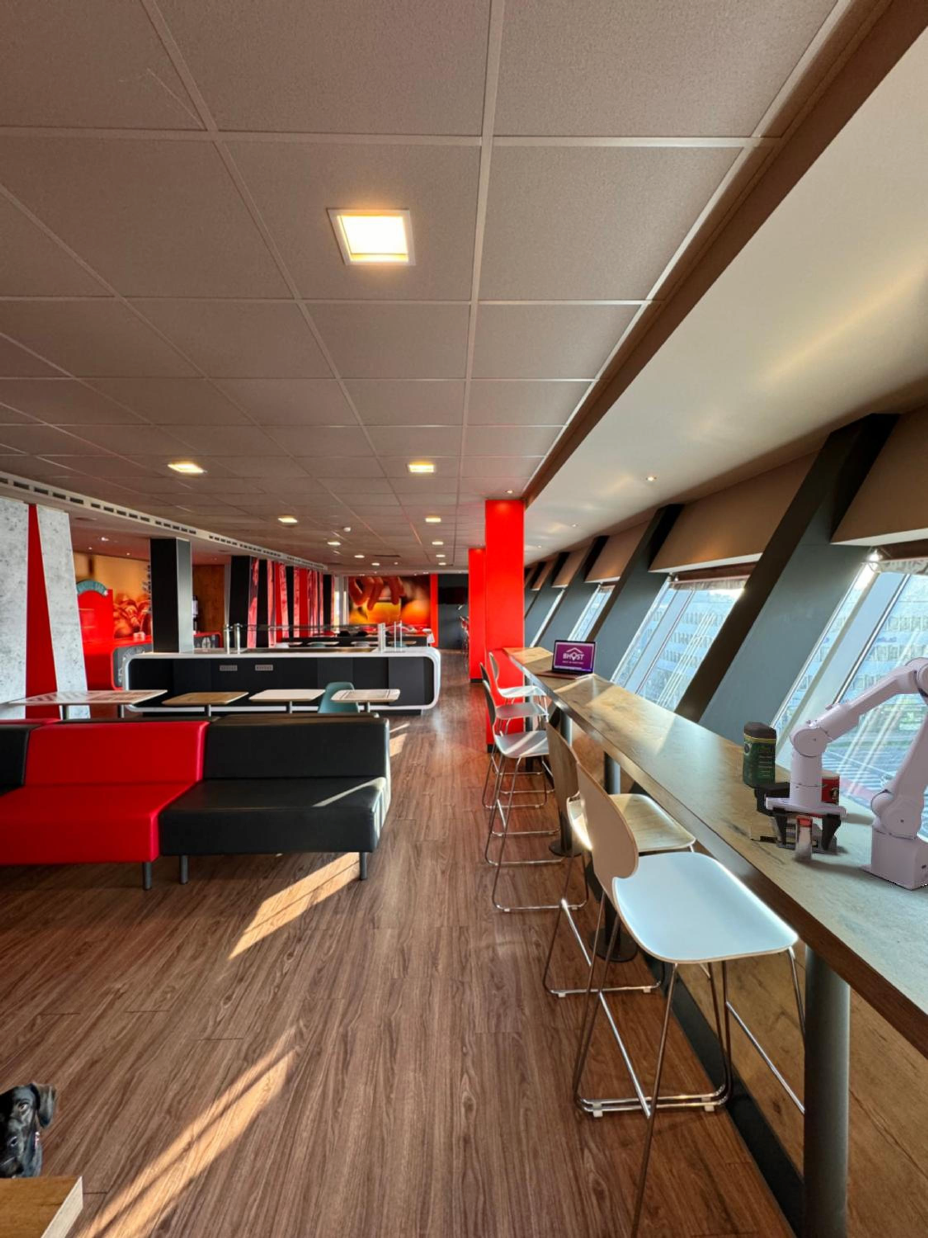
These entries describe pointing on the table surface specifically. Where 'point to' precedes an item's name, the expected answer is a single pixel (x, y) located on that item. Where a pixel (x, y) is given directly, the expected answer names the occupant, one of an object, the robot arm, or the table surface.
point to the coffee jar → (759, 754)
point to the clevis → (790, 835)
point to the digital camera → (771, 795)
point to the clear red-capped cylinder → (804, 838)
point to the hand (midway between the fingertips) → (803, 846)
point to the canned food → (829, 789)
